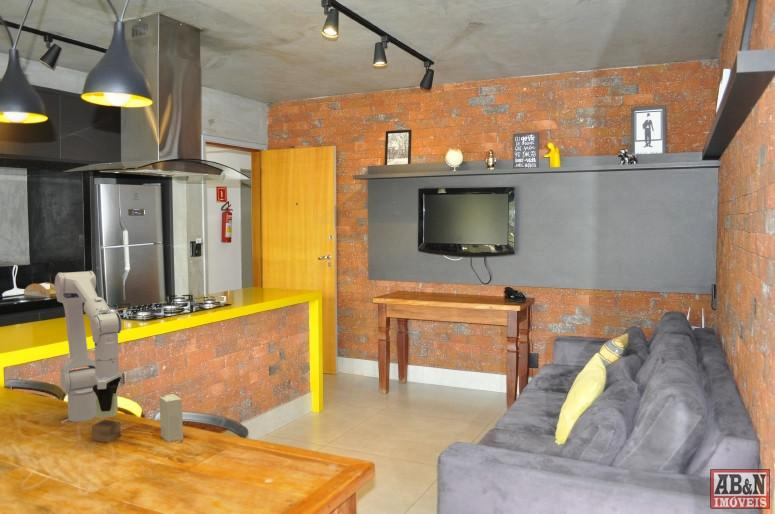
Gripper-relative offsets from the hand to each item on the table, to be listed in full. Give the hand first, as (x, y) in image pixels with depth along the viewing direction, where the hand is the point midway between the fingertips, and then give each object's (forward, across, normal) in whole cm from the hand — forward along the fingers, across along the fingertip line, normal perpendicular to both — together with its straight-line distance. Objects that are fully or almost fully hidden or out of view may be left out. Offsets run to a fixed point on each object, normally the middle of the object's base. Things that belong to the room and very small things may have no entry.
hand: (107, 407), depth 164 cm
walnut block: (+8, +1, 0) cm, 8 cm away
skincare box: (+9, +3, +16) cm, 19 cm away
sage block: (+2, 0, 0) cm, 2 cm away
